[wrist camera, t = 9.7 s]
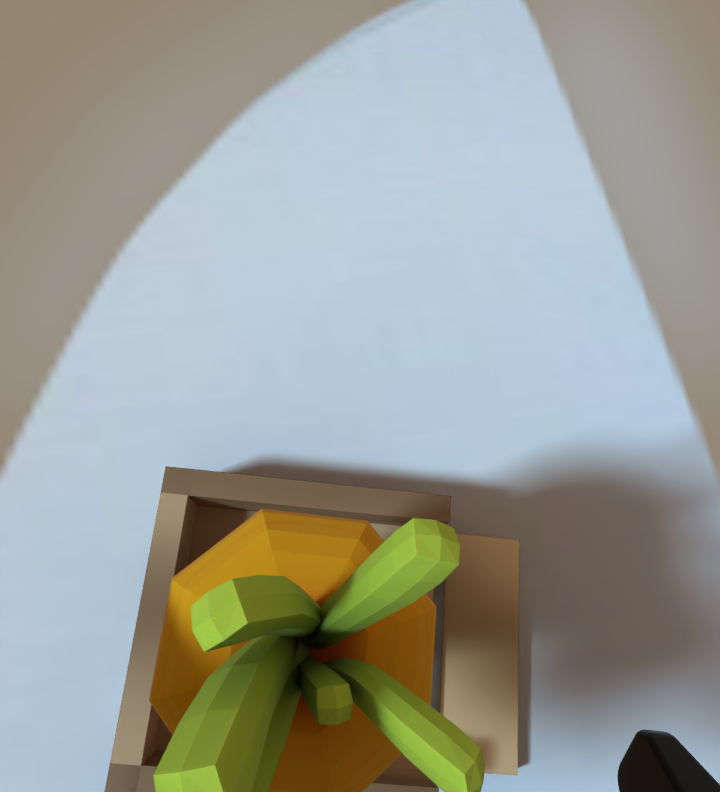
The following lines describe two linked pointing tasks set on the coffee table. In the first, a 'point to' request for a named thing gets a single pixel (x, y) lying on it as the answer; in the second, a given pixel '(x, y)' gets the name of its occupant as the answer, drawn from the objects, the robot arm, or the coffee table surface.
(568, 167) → the coffee table surface
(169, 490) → the wooden tray
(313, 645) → the carrot
